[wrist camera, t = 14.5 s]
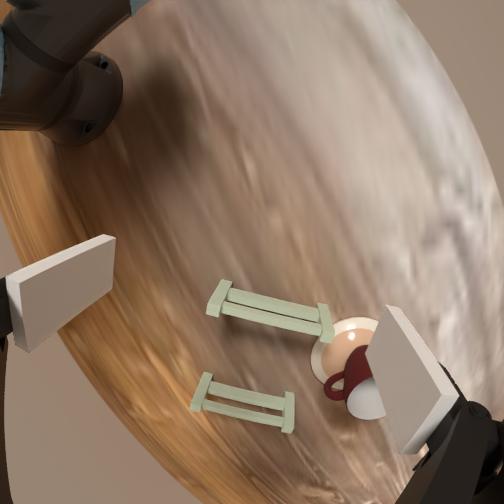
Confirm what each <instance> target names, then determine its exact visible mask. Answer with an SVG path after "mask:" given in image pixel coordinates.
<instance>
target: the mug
mask: <svg viewBox="0 0 504 504" xmlns="http://www.w3.org/2000/svg"><path fill="white" fill-rule="evenodd" d="M368 346H369V345H361V346H358V347H357V348H355V349H354V350H353V351H352V353H351V354H350V356H349V357H348V359H347V361H346V364H345V368H344V371H341V372H338V373H336V374H334V375H332V376H331V377H329V378H328V379H327V380H326V382H325V384H324V391H325V394H326V396H327V397H328V398H330V399H332V400H335V401H339V400H343V399H345V402H346V406H347V409H348V411H349V413H350V414H351V415H352V416H354V417H356V418H358V419H362V420H374V419H379V418H382V417H385V416H387V415H386V412H385V409H384V406H383V403H382V400H381V397H380V394H379V391H378V388H377V385H376V383H375V380H374V377H373V374H372V371H371V369H370V366H369V363H368V361H367V358H366V355H365V352H366V350H367V348H368ZM343 378H344V385H343V390H341V391H332V390H331V387H332V385H333V384H334V383H336V382H337V381H339V380H341V379H343Z"/></svg>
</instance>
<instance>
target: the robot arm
mask: <svg viewBox="0 0 504 504" xmlns="http://www.w3.org/2000/svg"><path fill="white" fill-rule="evenodd" d="M5 1H6V2H8V3H9V4H11V5H12V6H14V8H13V9H12V10H11V11H10V13H9V14H8V15H7V16H6V17H5V19H4V20H3V21H2V22H1V23H0V130H18V131H39V132H40V133H42V134H43V135H45V136H46V137H48V138H50V139H51V140H53V141H54V142H56V143H59V144H62V145H73V146H76V145H82V144H86V143H88V142H90V141H92V140H93V139H95V138H96V137H98V136H99V135H100V134H101V133H102V132H103V131H104V130H105V129H106V128H107V126H108V125H109V124H110V122H111V121H112V119H113V117H114V115H115V113H116V111H117V109H118V106H119V103H120V100H121V95H122V77H121V73H120V70H119V68H118V66H117V64H116V63H115V62H114V61H113V60H112V59H111V58H109V57H107V56H105V55H103V54H102V53H99V52H96V51H90V50H92V49H93V48H94V47H95V46H96V45H97V44H98V43H99V42H100V41H101V40H103V39H104V38H105V37H106V36H107V35H108V34H110V33H111V32H112V31H113V30H114V29H116V28H117V27H118V26H119V25H120V24H122V23H123V22H124V21H125V20H127V19H128V18H129V17H133V16H134V15H135V13H136V11H137V10H139V9H140V8H141V7H142V6H144V5H145V4H146V3H147V2H149V1H150V0H5ZM115 243H116V237H112V236H109V235H105V234H102V235H100V236H97V237H95V238H92V239H90V240H87V241H85V242H82V243H80V244H78V245H75V246H73V247H70V248H68V249H66V250H63V251H61V252H59V253H56V254H54V255H52V256H49V257H47V258H45V259H42V260H40V261H38V262H36V263H33V264H31V265H29V266H27V267H25V268H22V269H20V270H18V271H16V272H14V273H12V274H10V275H8V276H6V277H4V278H2V279H0V504H13V501H12V498H11V493H10V487H9V480H8V472H7V462H6V452H5V434H4V391H5V390H4V389H5V373H6V361H7V351H8V339H7V335H8V334H10V333H11V332H13V335H14V340H15V345H16V346H18V347H20V348H21V349H23V350H25V351H26V352H28V353H30V352H31V351H32V350H33V349H34V348H36V347H37V346H38V345H39V344H41V343H42V342H43V341H45V340H46V339H47V338H48V337H50V336H51V335H52V334H53V333H55V332H56V331H57V330H59V329H60V328H61V327H62V326H64V325H65V324H66V323H68V322H69V321H70V320H72V319H73V318H74V317H75V316H77V315H78V314H79V313H81V312H82V311H83V310H85V309H86V308H87V307H89V306H90V305H91V304H93V303H94V302H95V301H97V300H98V299H99V298H101V297H102V296H103V295H105V294H106V293H108V292H109V291H110V290H112V287H113V269H114V255H115ZM365 355H366V358H367V361H368V363H369V366H370V369H371V371H372V374H373V377H374V380H375V383H376V385H377V388H378V391H379V394H380V397H381V400H382V403H383V406H384V409H385V412H386V415H387V418H388V421H389V424H390V427H391V430H392V433H393V436H394V440H395V443H396V446H397V449H398V453H399V454H417V453H418V452H419V451H420V449H421V448H422V447H423V446H424V444H425V443H427V446H428V448H429V451H428V452H427V453H426V454H425V456H424V457H423V458H422V459H421V460H420V461H419V463H418V464H417V465H416V466H415V467H414V468H413V469H412V470H413V471H415V470H416V471H415V473H414V474H413V476H412V478H411V479H410V481H409V483H408V484H407V486H406V487H405V489H404V491H403V492H402V494H401V495H400V497H399V498H398V500H397V501H396V503H395V504H504V419H503V421H502V422H499V421H495V420H492V417H491V414H490V412H489V411H488V410H487V409H486V408H485V407H484V406H483V405H481V404H479V403H477V402H474V401H467V400H466V398H465V397H464V395H463V394H462V392H461V391H460V389H459V387H458V386H457V384H455V381H454V380H453V378H451V375H450V374H449V372H448V371H447V369H446V368H445V367H444V366H443V365H441V364H440V363H439V362H438V361H437V360H436V359H435V357H434V356H433V354H432V353H431V351H430V350H429V349H428V347H427V346H426V344H425V343H424V341H423V340H422V339H421V337H420V336H419V334H418V333H417V331H416V330H415V329H414V327H413V326H412V325H411V323H410V322H409V320H408V319H407V318H406V316H405V315H404V314H403V312H402V311H401V310H400V308H398V307H394V306H389V305H385V307H384V310H383V312H382V315H381V317H380V320H379V322H378V325H377V327H376V329H375V332H374V334H373V337H372V339H371V341H370V343H369V346H368V348H367V350H366V352H365ZM501 466H502V468H501V470H500V472H499V474H498V475H497V470H498V469H499V468H500V467H501Z"/></svg>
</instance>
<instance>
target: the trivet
mask: <svg viewBox="0 0 504 504" xmlns="http://www.w3.org/2000/svg"><path fill="white" fill-rule="evenodd" d="M378 322H379V321H378V320H376V319H373V318H370V317H364V316H356V317H349V318H345V319H342V320H339V321H337V322H335V323H333V326H334V329H335V336H334V338H333V341H332V343H331V344H330V343H325V342H320V341H319V336H318V338H317V339H316V341H315V343H314V345H313V348H312V351H311V365H312V369H313V372H314V374H315V375H316V377H317V378H318V379H319V380H320V381H321V382H322V383H324V384H325V382H326V380H327V379H328V378H329V377H331V376H332V375H334V374H336V373H338V372H341V371H344V368H345V364H346V361H347V359H348V357H349V356H350V354H351V353H352V351H353V350H354V349H355V348H357V347H358V346H361V345H369V343H370V341H371V339H372V337H373V334H374V332H375V329H376V327H377V325H378ZM343 385H344V378H343V379H341V380H339V381H337V382H336V383H334V384H333V385H332V388H335V389H341V390H343Z"/></svg>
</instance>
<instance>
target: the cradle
mask: <svg viewBox="0 0 504 504" xmlns="http://www.w3.org/2000/svg"><path fill="white" fill-rule="evenodd" d="M231 287H232V282H231V281H227V280H224V279H222V280H221V281H220V283H219V285H218V286H217V288H216V290H215V292H214V293H213V295H212V297H211V298H210V300H209V302H208V305H207V310H206V314H208V315H212V316H215V317H219V315H220V313H224V314H228V315H232V316H236V317H239V318H243V319H247V320H251V321H255V322H260V323H264V324H268V325H272V326H276V327H281V328H285V329H289V330H294V331H298V332H303V333H307V334H312V335H317V336H319V341H320V342H325V343H330V344H331V343H332V341H333V338H334V336H335V329H334V326H333V322H332V318H331V315H330V311H329V307H328V305H326V304H322V303H317V306H316V308H313V307H309V306H304V305H300V304H296V303H292V302H287V301H283V300H279V299H275V298H271V297H267V296H263V295H258V294H254V293H250V292H246V291H243V290H239V289H235V288H231ZM226 300H228V301H232V302H236V303H239V304H243V305H247V306H251V307H255V308H259V309H264V310H268V311H272V312H276V313H280V314H284V315H289V316H293V317H297V318H302V319H306V320H311V321H315V322H316V323H313V322H309V321H304V320H300V319H295V318H291V317H287V316H282V315H278V314H274V313H270V312H266V311H262V310H258V309H253V308H249V307H246V306H242V305H238V304H234V303H230V302H226ZM212 376H213V374H211V373H207V372H204V373H203V375H202V377H201V380H200V382H199V385H198V387H197V390H196V392H195V394H194V397H193V399H192V402H191V405H190V410H191V411H194V412H198V413H200V411H201V408H202V409H205V410H209V411H212V412H216V413H220V414H224V415H228V416H232V417H236V418H240V419H244V420H249V421H253V422H258V423H263V424H268V425H273V426H278V427H281V432H285V433H290V434H291V433H292V431H293V429H294V393H292V392H287V391H285V394H284V396H283V398H281V397H276V396H271V395H267V394H262V393H258V392H253V391H249V390H245V389H240V388H236V387H232V386H228V385H225V384H221V383H217V382H213V381H212ZM207 393H209V394H213V395H216V396H220V397H224V398H228V399H232V400H236V401H240V402H244V403H248V404H253V405H257V406H262V407H267V408H271V409H276V410H282V417H279V416H274V415H269V414H264V413H260V412H255V411H250V410H246V409H242V408H238V407H233V406H229V405H225V404H222V403H218V402H214V401H210V400H207V399H205V397H206V395H207Z"/></svg>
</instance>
